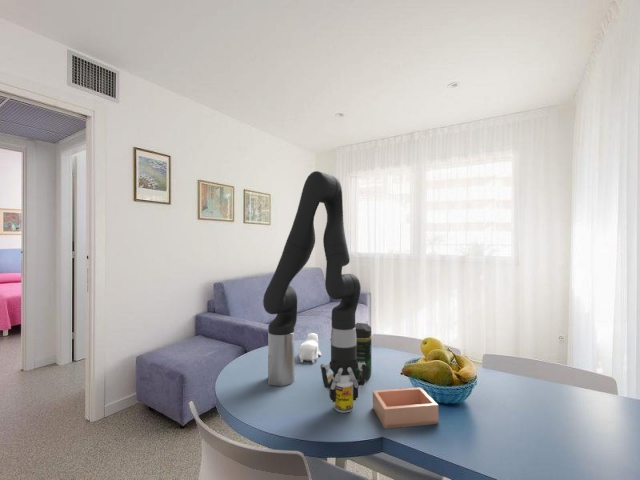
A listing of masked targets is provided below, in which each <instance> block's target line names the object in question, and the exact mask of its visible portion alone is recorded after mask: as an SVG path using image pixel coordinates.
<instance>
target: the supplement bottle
mask: <svg viewBox="0 0 640 480" xmlns="http://www.w3.org/2000/svg"><path fill="white" fill-rule="evenodd" d="M333 405H334V409H335V411H337V412H338V413H343V414H344V413H350V412H351V411H352V410H353V408H354V400H353V382H352V380H351V377H350V375H340V378H339V380H338V382H337V384H336V386H335V402H333Z"/></svg>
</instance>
